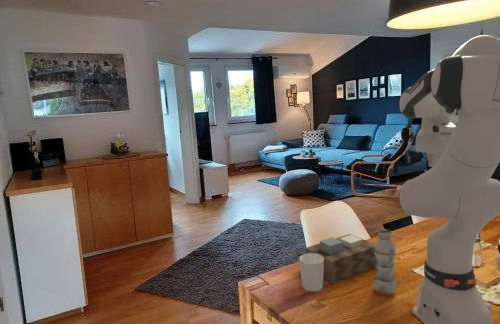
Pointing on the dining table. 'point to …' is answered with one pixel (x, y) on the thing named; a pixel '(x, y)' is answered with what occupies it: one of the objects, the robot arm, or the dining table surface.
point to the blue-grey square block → (331, 246)
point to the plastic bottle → (385, 263)
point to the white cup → (312, 271)
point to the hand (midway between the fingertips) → (432, 166)
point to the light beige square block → (351, 241)
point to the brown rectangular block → (346, 261)
